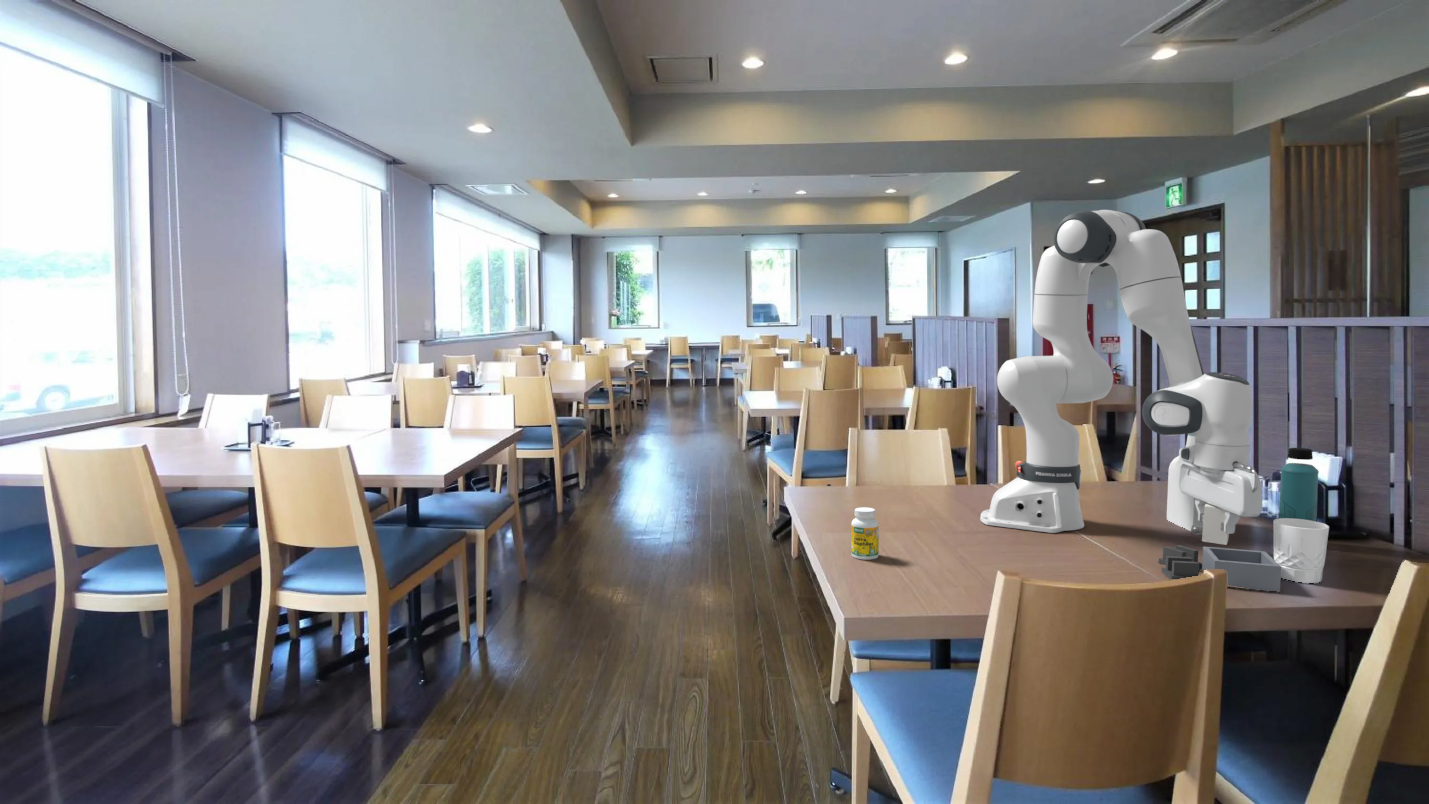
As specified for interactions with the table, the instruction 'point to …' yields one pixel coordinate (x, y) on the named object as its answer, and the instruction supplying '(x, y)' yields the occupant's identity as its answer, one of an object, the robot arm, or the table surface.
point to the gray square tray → (1244, 567)
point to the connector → (1212, 525)
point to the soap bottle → (1181, 497)
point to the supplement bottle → (865, 534)
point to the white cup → (1300, 548)
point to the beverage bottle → (1299, 487)
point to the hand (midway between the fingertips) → (1215, 527)
